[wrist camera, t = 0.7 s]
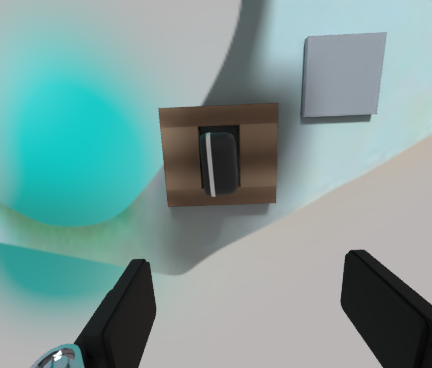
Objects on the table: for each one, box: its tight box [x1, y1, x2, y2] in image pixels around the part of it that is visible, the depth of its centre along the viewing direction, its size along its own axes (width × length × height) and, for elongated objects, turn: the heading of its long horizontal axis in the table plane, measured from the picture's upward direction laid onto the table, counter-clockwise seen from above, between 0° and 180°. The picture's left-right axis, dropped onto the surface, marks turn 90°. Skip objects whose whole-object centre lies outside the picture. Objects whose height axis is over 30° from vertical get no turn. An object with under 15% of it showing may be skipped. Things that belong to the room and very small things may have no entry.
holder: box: [159, 103, 278, 207], centre depth 31 cm, size 14×16×3 cm
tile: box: [302, 32, 387, 118], centre depth 29 cm, size 10×10×1 cm
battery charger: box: [200, 132, 238, 197], centre depth 27 cm, size 7×4×11 cm, turn 5°
